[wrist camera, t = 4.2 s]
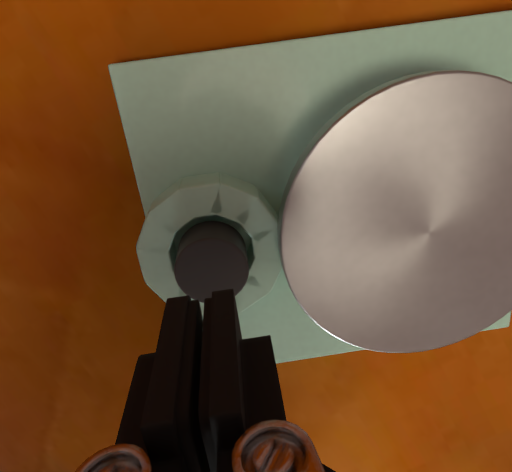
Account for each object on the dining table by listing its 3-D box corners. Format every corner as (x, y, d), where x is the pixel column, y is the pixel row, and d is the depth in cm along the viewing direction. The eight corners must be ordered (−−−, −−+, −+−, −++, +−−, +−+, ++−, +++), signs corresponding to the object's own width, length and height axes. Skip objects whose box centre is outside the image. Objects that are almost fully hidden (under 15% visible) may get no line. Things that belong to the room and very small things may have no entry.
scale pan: (290, 360, 18) (293, 372, 17) (260, 93, 14) (262, 96, 13) (537, 320, 18) (550, 331, 18) (586, 48, 14) (607, 48, 13)
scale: (182, 359, 21) (176, 405, 18) (109, 64, 16) (86, 66, 13) (492, 311, 22) (532, 348, 19) (530, 7, 16) (595, -3, 13)
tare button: (185, 285, 16) (181, 309, 15) (171, 225, 15) (166, 244, 14) (250, 275, 17) (253, 298, 15) (241, 214, 16) (244, 233, 14)
